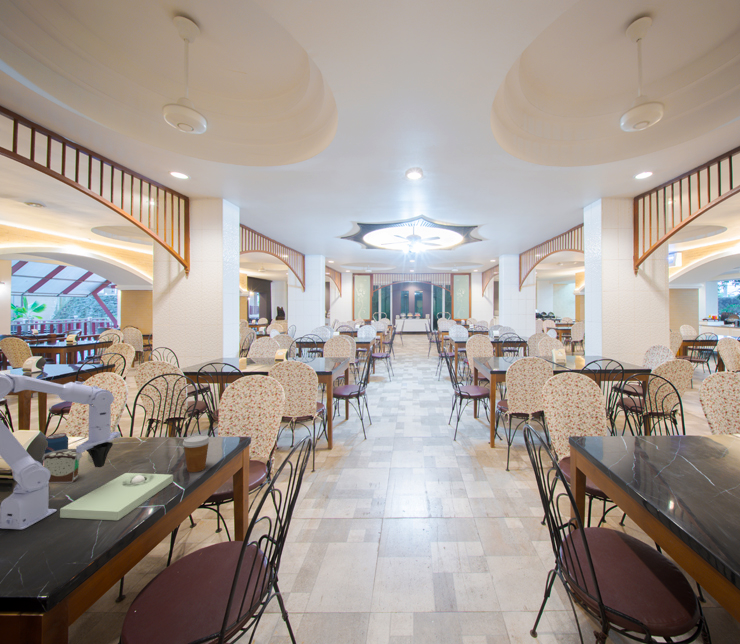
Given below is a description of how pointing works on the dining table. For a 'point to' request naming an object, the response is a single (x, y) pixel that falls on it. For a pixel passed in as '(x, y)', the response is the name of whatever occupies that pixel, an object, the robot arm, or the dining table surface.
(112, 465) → the dining table surface
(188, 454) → the disposable coffee cup
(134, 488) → the putting deck
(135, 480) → the ball
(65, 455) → the food container
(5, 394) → the robot arm
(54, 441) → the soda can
